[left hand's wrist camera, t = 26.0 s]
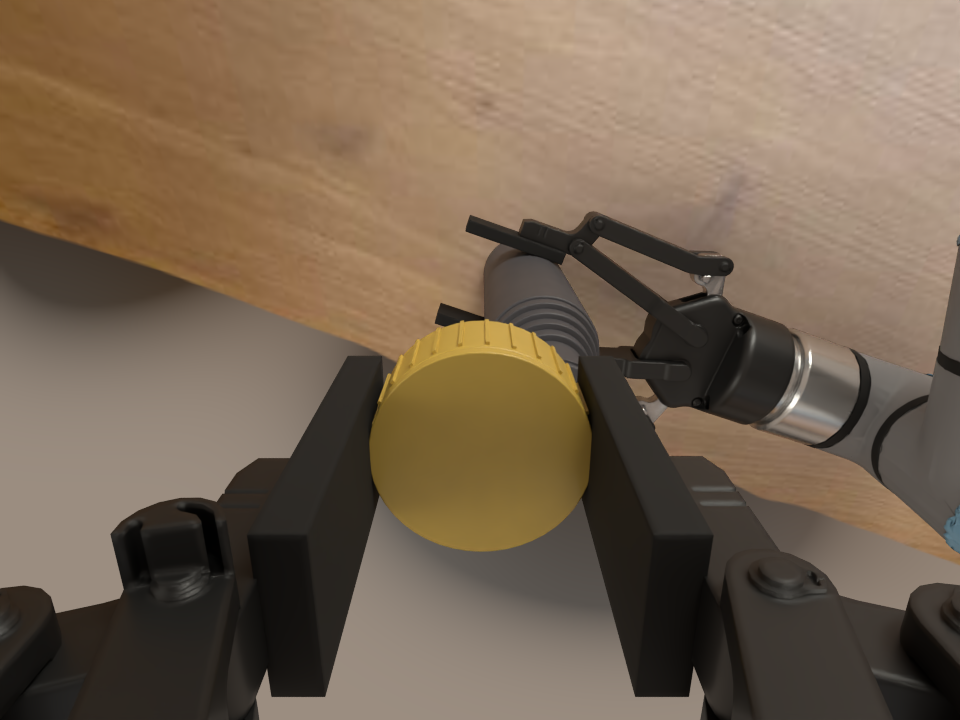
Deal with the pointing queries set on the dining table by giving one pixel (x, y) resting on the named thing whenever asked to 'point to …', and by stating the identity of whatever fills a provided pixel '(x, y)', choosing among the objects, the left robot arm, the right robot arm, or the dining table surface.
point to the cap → (481, 437)
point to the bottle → (538, 303)
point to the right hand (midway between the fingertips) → (453, 269)
